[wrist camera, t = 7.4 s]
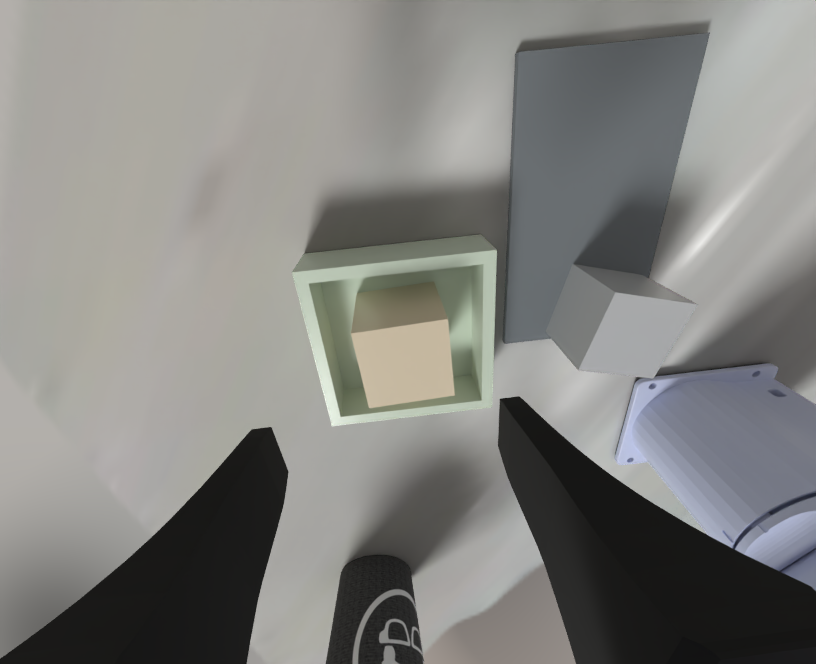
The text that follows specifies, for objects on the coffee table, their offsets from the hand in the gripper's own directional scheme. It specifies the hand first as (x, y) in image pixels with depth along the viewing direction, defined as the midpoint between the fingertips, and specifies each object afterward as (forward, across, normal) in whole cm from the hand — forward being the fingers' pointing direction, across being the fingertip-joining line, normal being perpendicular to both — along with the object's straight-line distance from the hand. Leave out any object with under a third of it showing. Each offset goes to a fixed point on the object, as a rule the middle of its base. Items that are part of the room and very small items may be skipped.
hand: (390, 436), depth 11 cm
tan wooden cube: (+10, -1, +1) cm, 10 cm away
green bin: (+10, -1, +1) cm, 10 cm away
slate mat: (+10, -11, -4) cm, 15 cm away
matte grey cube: (+10, -12, +1) cm, 15 cm away
